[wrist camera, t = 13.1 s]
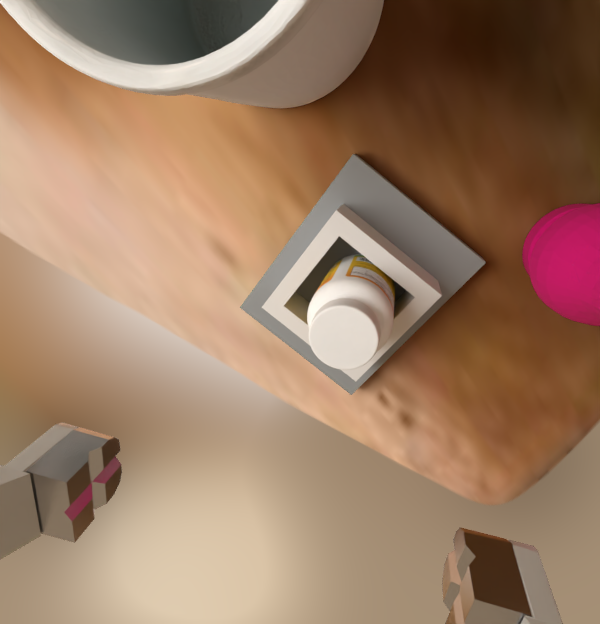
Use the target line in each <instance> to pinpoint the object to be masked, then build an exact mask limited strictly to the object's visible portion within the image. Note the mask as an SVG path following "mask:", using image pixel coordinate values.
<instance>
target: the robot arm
mask: <svg viewBox="0 0 600 624" xmlns="http://www.w3.org/2000/svg"><path fill="white" fill-rule="evenodd" d="M119 451H120V443H119V440H118V439H117V438H115V437H112V436H108V435H104V434H101V433H98V432H95V431H91V430H87V429H84V428H79V427H76V426H73V425H69V424H66V423H60V424H56V425H54V426H53V427H52V428H51V429H49V430H48V431H47V432H46V433H45V434H43V435H42V436H41V437H39V438H38V439H37V440H36V441H35V442H33V443H32V444H31V445H30V446H28V447H27V448H26V449H25V450H24V451H22V452H21V453H20V454H19V455H17V456H16V457H15V458H14V459H12V460H11V461H10V462H9V463H7V464H6V465H5V466H2V465H0V559H2V558H4V557H6V556H7V555H9V554H11V553H12V552H14V551H16V550H17V549H19V548H21V547H22V546H24V545H26V544H28V543H29V542H31V541H33V540H34V539H36V538H38V537H40V536H41V534H45V535H49V536H53V537H56V538H60V539H63V540H68V541H71V542H76V541H77V539H78V538H79V537H80V536H81V534H82V533H83V532H84V531H85V530H86V528H87V527H88V526H89V525H90V523H91V522H92V521H93V520H94V513H95V509H97V508H99V507H101V506H103V505H105V504H107V502H108V501H109V500H110V499H111V498H112V496H113V495H114V493H115V491H116V489H117V487H118V485H119V483H120V479H121V473H122V469H121V464H120V462H119V461H118V459H117V458H116V455H117V454H118V453H119ZM453 540H454V549H455V550H454V551H452V552H450V553H448V555H447V558H446V561H445V564H444V571H443V578H442V591H443V602H444V603H445V604H446V606H447V608H448V609H449V611H450V613H449V615H448V618H447V620H446V623H445V624H563V623H562V620H561V617H560V614H559V611H558V608H557V605H556V602H555V600H554V597H553V594H552V591H551V588H550V585H549V582H548V579H547V576H546V573H545V571H544V568H543V565H542V562H541V559H540V556H539V553H538V551H537V549H536V548H535V547H534V546H532V545H528V544H524V543H519V542H516V541H512V540H506V539H504V538H500V537H496V536H492V535H488V534H484V533H480V532H476V531H472V530H468V529H464V528H459V529H458V530H457V531H456V534H455V537H454V539H453Z"/></svg>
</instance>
